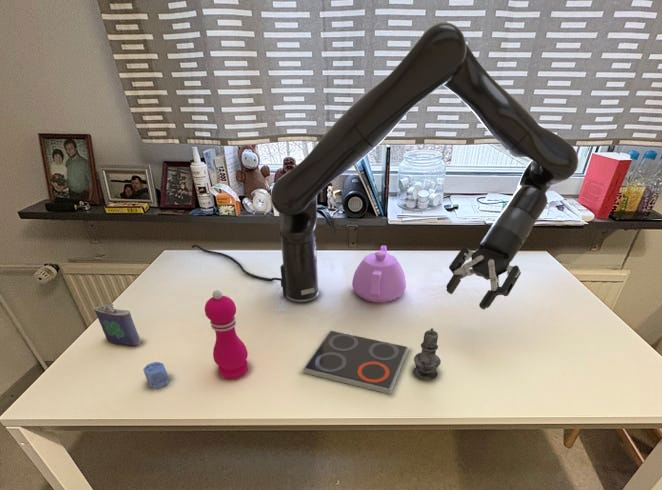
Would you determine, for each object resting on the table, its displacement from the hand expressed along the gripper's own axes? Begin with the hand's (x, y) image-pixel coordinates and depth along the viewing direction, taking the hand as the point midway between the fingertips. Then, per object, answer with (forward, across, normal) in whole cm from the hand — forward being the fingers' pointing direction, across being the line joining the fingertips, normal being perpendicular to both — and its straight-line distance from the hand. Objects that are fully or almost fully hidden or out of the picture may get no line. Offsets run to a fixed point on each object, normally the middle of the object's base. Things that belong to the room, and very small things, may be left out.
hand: (464, 299), depth 88 cm
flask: (+51, -56, -30) cm, 81 cm away
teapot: (+5, -33, +16) cm, 37 cm away
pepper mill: (+40, -29, -19) cm, 53 cm away
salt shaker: (+18, 0, +3) cm, 18 cm away
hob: (+24, -13, -3) cm, 27 cm away
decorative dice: (+50, -36, -29) cm, 68 cm away
